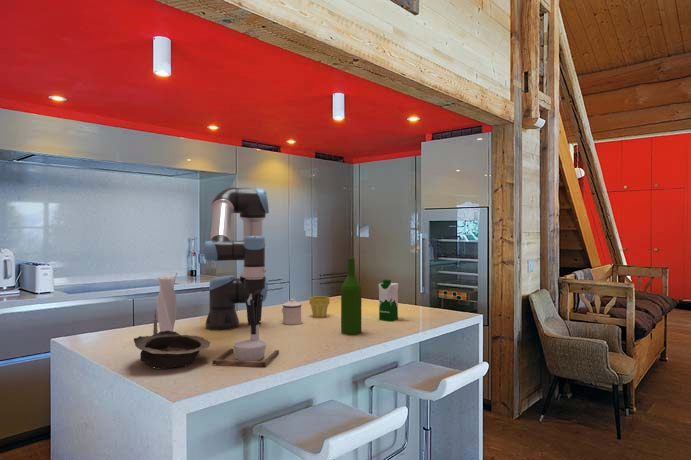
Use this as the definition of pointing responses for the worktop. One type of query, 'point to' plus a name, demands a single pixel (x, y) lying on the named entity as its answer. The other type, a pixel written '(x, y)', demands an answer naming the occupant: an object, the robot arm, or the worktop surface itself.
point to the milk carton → (388, 301)
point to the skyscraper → (166, 304)
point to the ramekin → (250, 350)
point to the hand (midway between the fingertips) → (254, 342)
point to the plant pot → (319, 305)
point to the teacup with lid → (291, 312)
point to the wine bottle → (351, 302)
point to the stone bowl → (170, 349)
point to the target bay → (264, 363)
